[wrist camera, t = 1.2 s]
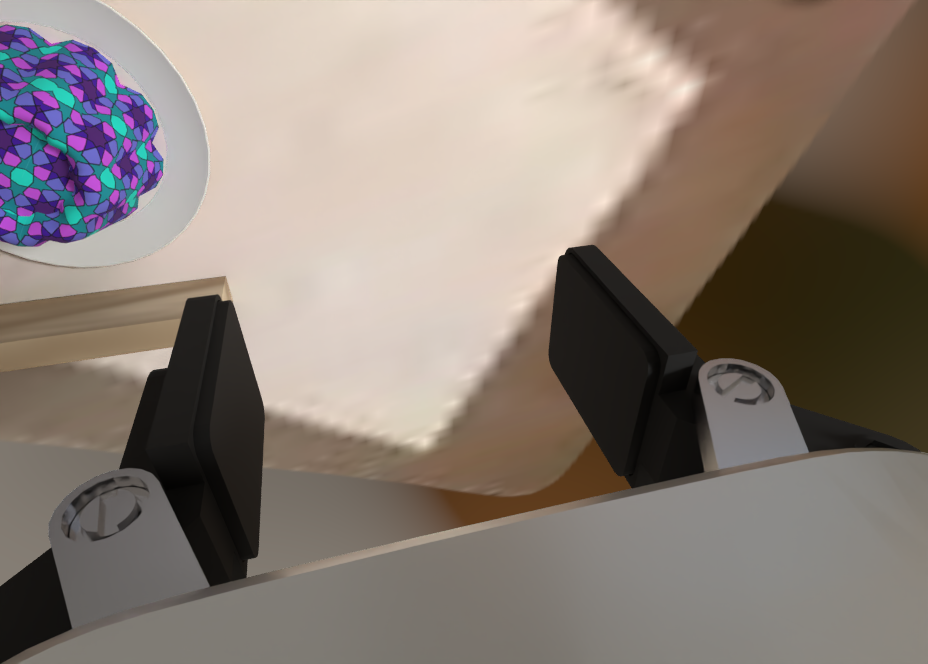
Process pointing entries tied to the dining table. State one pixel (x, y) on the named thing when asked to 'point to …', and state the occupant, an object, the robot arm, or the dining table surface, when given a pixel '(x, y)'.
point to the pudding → (92, 139)
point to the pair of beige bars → (97, 323)
